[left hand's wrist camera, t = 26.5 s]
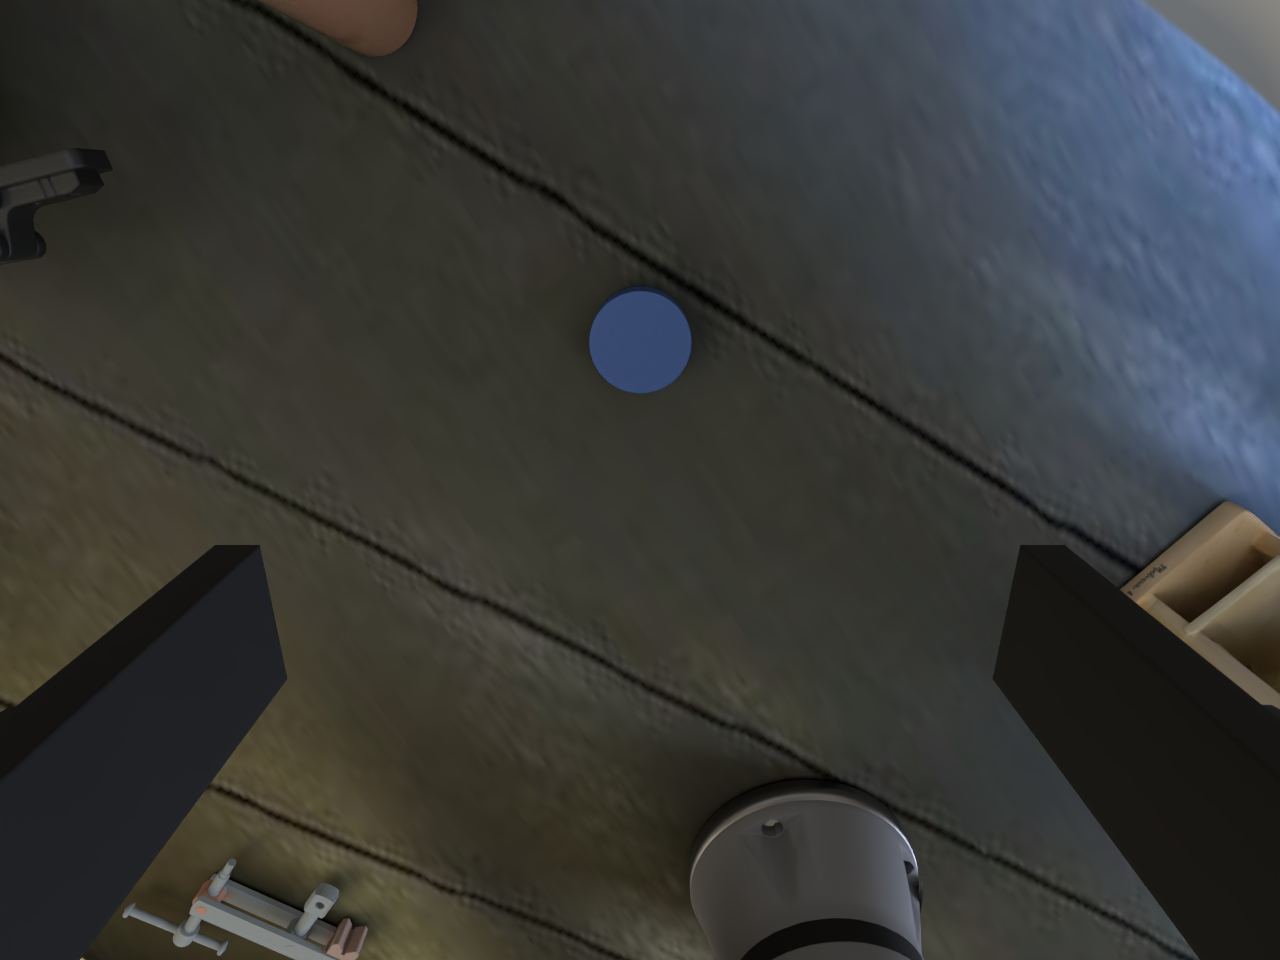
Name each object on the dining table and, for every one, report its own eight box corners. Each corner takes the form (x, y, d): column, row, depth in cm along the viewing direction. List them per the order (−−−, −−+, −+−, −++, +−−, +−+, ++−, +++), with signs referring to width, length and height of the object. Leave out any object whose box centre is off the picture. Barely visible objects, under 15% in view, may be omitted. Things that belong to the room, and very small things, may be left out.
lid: (625, 265, 36) (625, 269, 34) (708, 321, 37) (712, 328, 35) (573, 349, 38) (569, 358, 36) (653, 401, 39) (654, 412, 37)
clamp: (378, 931, 50) (314, 1012, 53) (388, 902, 52) (326, 982, 55) (167, 836, 47) (112, 928, 50) (187, 809, 49) (133, 899, 52)
